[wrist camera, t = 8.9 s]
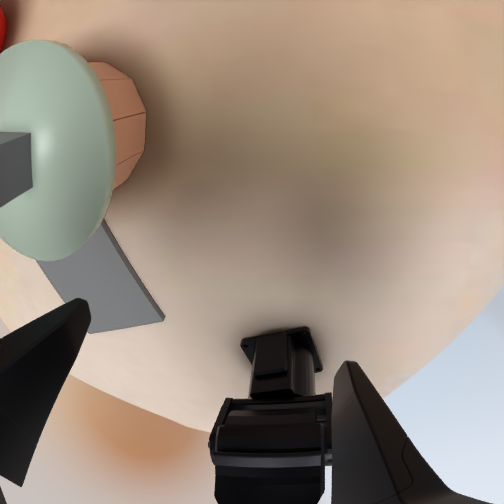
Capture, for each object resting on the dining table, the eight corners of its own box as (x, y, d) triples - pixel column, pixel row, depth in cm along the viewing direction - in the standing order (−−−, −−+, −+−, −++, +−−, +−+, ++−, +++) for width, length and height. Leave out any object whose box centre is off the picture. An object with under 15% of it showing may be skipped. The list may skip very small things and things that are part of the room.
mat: (165, 316, 26) (163, 321, 26) (91, 330, 29) (89, 333, 29) (101, 214, 21) (97, 217, 21) (35, 251, 24) (32, 254, 24)
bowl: (168, 159, 18) (121, 192, 13) (74, 209, 21) (25, 249, 16) (114, 37, 14) (52, 29, 8) (28, 110, 17) (-29, 129, 11)
